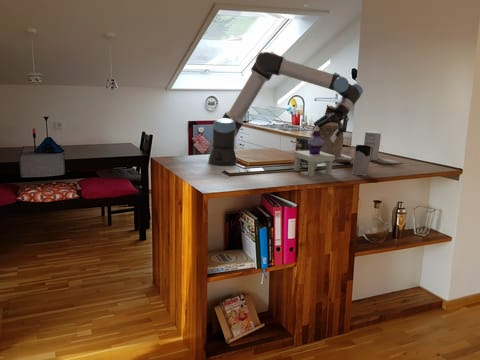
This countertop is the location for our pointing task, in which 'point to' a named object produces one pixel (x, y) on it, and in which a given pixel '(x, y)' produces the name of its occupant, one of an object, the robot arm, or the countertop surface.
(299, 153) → the footstool
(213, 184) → the countertop surface
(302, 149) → the coffee can
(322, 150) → the cookie jar
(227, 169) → the countertop surface
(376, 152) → the supplement box
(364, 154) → the glass holder
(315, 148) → the potion bottle
